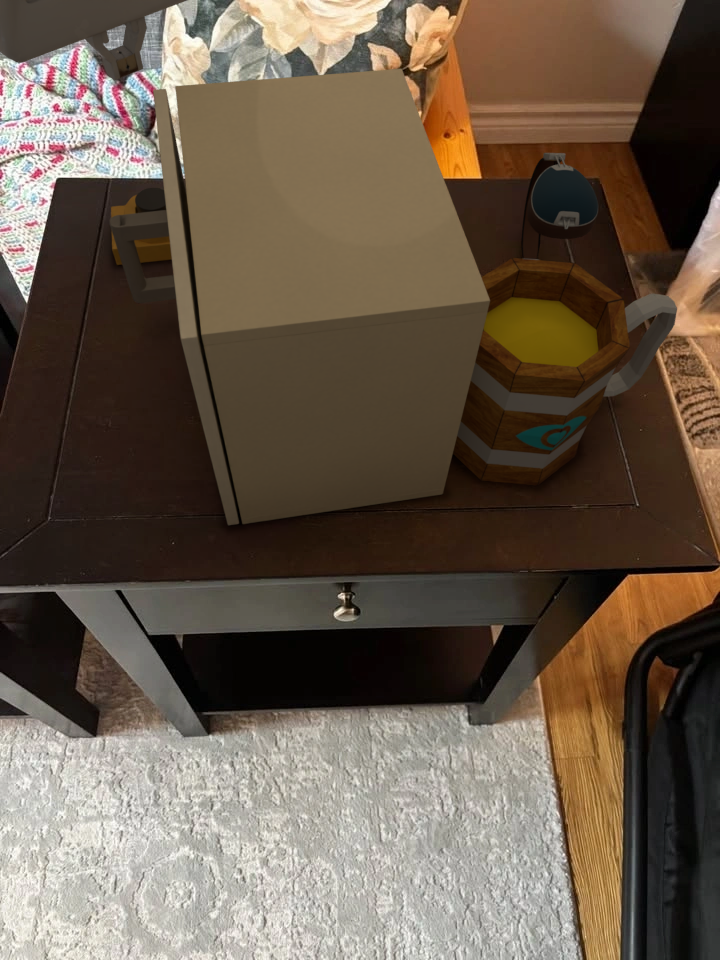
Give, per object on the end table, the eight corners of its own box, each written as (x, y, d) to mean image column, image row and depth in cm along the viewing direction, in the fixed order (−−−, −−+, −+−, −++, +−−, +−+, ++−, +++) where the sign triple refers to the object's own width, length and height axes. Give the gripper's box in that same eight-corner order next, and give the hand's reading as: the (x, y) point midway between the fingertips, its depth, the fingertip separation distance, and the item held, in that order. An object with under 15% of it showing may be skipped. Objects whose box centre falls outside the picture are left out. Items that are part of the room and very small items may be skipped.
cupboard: (242, 524, 65) (201, 334, 45) (216, 308, 78) (175, 85, 58) (442, 494, 67) (490, 300, 47) (384, 289, 81) (401, 68, 60)
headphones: (576, 384, 73) (551, 247, 87) (624, 253, 61) (586, 117, 74) (512, 381, 73) (497, 244, 87) (547, 249, 61) (523, 114, 74)
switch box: (116, 265, 81) (107, 235, 78) (115, 222, 85) (106, 192, 82) (209, 255, 83) (204, 226, 79) (204, 213, 86) (199, 183, 83)
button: (139, 225, 80) (135, 211, 78) (137, 202, 81) (134, 189, 80) (173, 221, 80) (170, 208, 78) (171, 199, 82) (168, 185, 80)
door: (159, 537, 64) (80, 352, 44) (142, 316, 77) (75, 96, 57) (239, 524, 65) (197, 336, 45) (209, 308, 78) (165, 88, 58)
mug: (468, 503, 67) (500, 401, 54) (417, 389, 74) (435, 273, 61) (662, 452, 71) (735, 344, 58) (597, 347, 77) (649, 229, 64)
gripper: (174, -159, 61) (201, 20, 72) (-70, -90, 53) (5, 96, 65) (219, -133, 58) (240, 48, 70) (-30, -56, 51) (40, 131, 63)
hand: (125, 72), depth 68 cm, fingers closed
